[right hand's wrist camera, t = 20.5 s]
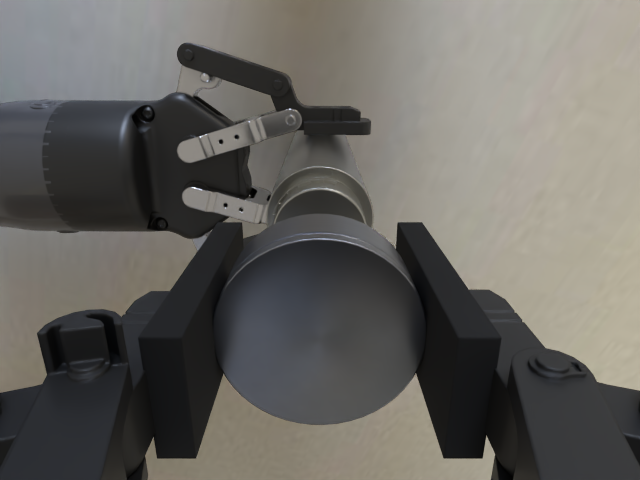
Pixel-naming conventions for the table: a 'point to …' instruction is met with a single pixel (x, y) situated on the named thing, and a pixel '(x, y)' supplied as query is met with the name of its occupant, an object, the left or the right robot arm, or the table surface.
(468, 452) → the right robot arm
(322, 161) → the grey capped cylinder
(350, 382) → the lid
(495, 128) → the table surface
